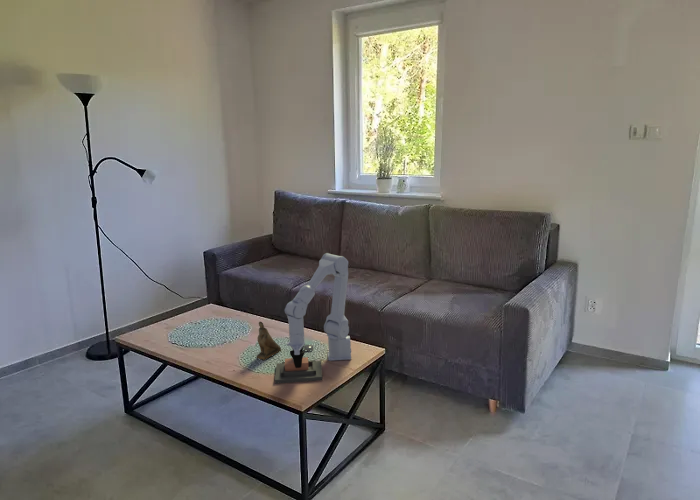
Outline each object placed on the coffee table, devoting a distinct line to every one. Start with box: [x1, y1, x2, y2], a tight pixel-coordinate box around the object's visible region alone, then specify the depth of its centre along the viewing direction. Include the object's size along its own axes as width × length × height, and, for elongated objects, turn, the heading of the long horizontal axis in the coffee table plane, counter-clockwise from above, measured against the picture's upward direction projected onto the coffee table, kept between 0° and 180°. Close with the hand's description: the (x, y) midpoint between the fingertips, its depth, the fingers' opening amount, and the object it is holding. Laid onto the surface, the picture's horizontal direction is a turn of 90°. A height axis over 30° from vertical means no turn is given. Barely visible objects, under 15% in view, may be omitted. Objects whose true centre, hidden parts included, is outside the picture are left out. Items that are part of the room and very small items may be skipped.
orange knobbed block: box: [284, 356, 309, 371], centre depth 195 cm, size 5×9×5 cm, turn 95°
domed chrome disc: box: [303, 344, 314, 352], centre depth 217 cm, size 4×4×2 cm
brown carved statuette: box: [256, 321, 282, 361], centre depth 211 cm, size 12×6×18 cm, turn 144°
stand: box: [274, 359, 323, 384], centre depth 196 cm, size 18×14×3 cm
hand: (298, 364), depth 195 cm, fingers closed on orange knobbed block, 5 cm apart
